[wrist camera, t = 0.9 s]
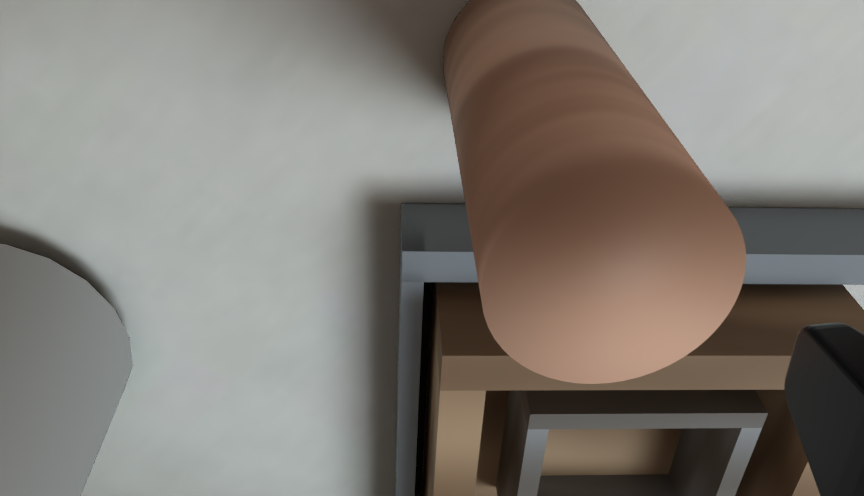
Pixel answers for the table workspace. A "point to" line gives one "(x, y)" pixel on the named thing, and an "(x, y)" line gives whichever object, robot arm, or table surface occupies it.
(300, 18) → the table surface
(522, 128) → the handle peg
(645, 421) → the crate
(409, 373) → the bay
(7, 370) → the can
